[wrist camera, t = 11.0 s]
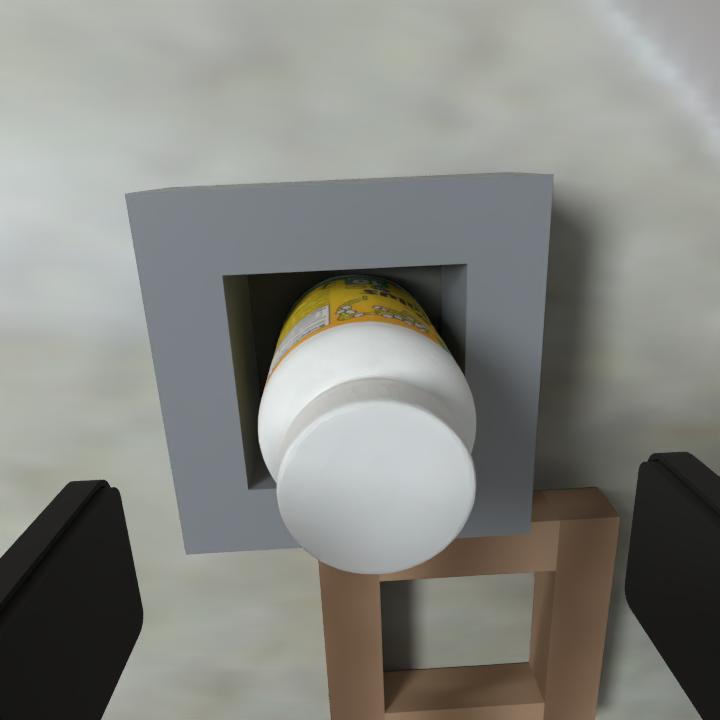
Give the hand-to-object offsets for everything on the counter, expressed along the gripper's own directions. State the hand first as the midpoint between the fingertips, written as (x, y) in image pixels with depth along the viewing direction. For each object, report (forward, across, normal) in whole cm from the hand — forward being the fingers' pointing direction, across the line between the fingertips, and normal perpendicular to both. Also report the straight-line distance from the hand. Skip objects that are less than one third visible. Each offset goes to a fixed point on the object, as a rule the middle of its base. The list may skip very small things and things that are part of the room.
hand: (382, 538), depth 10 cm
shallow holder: (+11, -3, +11) cm, 16 cm away
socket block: (+11, +1, -1) cm, 11 cm away
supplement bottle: (+11, 0, 0) cm, 11 cm away
